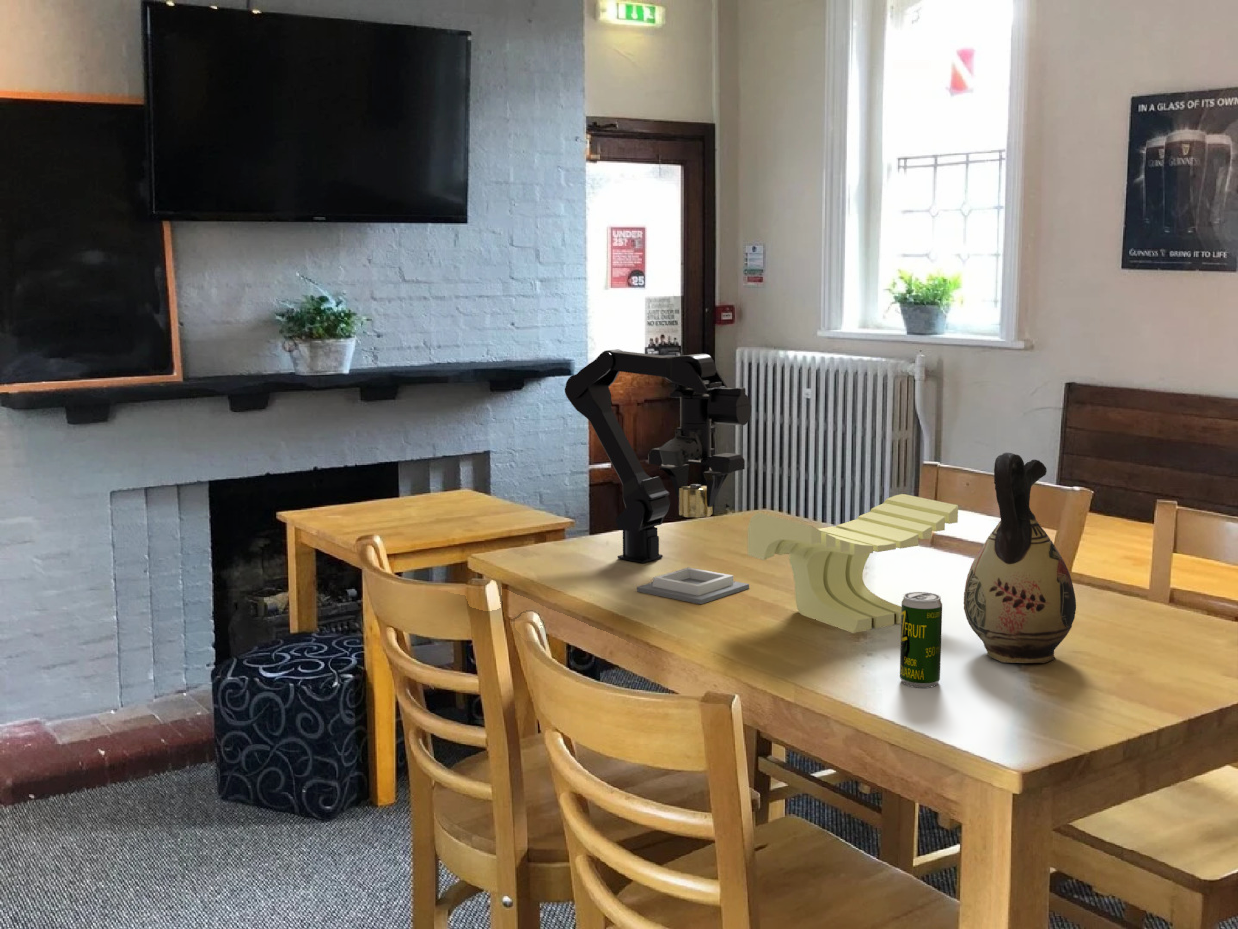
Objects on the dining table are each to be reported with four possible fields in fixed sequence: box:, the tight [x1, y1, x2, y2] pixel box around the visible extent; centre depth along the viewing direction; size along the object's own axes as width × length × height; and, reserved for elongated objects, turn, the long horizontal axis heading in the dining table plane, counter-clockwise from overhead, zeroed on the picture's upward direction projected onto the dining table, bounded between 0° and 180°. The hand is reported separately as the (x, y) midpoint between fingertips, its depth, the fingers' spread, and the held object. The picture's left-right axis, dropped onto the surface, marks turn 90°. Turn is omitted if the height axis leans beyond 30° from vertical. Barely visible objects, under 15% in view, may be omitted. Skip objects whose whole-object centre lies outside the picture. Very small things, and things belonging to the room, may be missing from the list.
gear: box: [678, 483, 713, 519], centre depth 245 cm, size 6×6×6 cm
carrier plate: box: [636, 566, 750, 605], centre depth 229 cm, size 14×14×2 cm
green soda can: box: [899, 591, 943, 688], centre depth 177 cm, size 5×5×12 cm
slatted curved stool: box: [747, 493, 959, 634], centre depth 210 cm, size 30×16×18 cm, turn 121°
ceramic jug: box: [963, 452, 1077, 664], centre depth 186 cm, size 17×15×30 cm
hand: (695, 504), depth 245 cm, fingers closed on gear, 6 cm apart
